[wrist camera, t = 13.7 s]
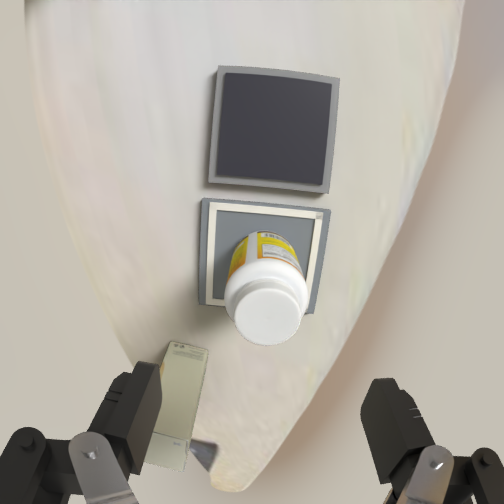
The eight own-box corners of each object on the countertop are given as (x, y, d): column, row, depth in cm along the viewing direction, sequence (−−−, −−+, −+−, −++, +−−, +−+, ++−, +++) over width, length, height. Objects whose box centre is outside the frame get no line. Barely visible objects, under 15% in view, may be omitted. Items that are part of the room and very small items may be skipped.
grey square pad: (199, 301, 30) (198, 305, 29) (203, 197, 26) (201, 199, 26) (312, 310, 30) (313, 314, 29) (329, 209, 27) (331, 211, 26)
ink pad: (210, 181, 26) (207, 182, 25) (219, 68, 23) (217, 64, 22) (326, 192, 26) (329, 194, 25) (336, 80, 23) (340, 77, 22)
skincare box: (170, 339, 31) (135, 424, 20) (210, 348, 32) (189, 439, 20) (166, 380, 33) (137, 462, 22) (201, 389, 34) (183, 474, 22)
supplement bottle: (242, 293, 29) (234, 364, 19) (224, 237, 27) (206, 288, 17) (301, 279, 28) (321, 345, 18) (288, 221, 26) (304, 264, 17)
